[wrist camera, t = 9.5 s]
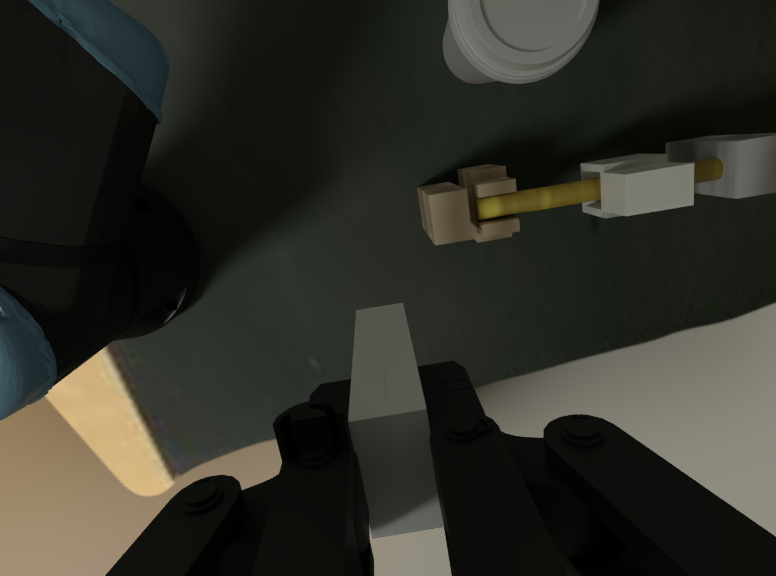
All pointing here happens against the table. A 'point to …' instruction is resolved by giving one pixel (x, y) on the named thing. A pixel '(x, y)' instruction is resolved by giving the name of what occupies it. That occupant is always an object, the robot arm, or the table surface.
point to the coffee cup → (514, 38)
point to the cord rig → (588, 187)
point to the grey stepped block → (639, 185)
